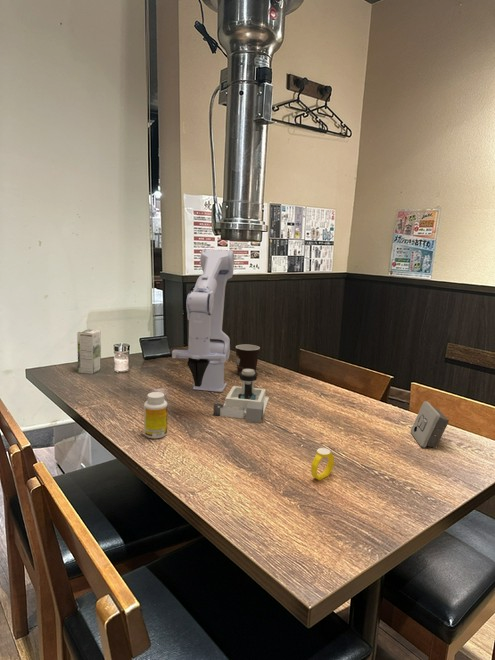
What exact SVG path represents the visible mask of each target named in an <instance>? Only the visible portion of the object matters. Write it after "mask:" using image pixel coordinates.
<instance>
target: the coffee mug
mask: <svg viewBox="0 0 495 660" xmlns="http://www.w3.org/2000/svg"><path fill="white" fill-rule="evenodd" d="M260 348H261V347H260V346H258V345H256V344H255V345H254V344H248V343H247V344H246V343H245V344H238V345H236V346H235V355H236V367H237V368H236V371H237V375H238V376H239V377H240V375H239V373H240V372H242V370H243V369H253V370H254V371H255V372H256V373H257V367H258V360H259V356H260V355H259V354H260Z"/></svg>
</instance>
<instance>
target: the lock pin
mask: <svg viewBox="0 0 495 660" xmlns="http://www.w3.org/2000/svg"><path fill="white" fill-rule="evenodd" d="M212 412H213V414H212V415H213V416H215V417H224V418H225V417H226V418H233V419H241V420H242V419H243V420H244V418H245V415H246V414H245V408H244V407H234V406H225V405H224V404H222V403H215V404H214V403H213V411H212Z"/></svg>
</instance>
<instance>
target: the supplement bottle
mask: <svg viewBox="0 0 495 660" xmlns="http://www.w3.org/2000/svg"><path fill="white" fill-rule="evenodd" d="M146 397H147V400H146V401H145V402H144V404H143V433H144V436H145V437H147V438H149V439H161V438H163V437H166V435H168V434H167V433H168V402H167V401H166V399H165V394H164V393H163V392H161V391H153V392H149V393H148V394H147V395H146Z"/></svg>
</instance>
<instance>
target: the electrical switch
mask: <svg viewBox="0 0 495 660" xmlns="http://www.w3.org/2000/svg"><path fill="white" fill-rule="evenodd" d="M449 422H450V420H449V419H448V418H447V416H445V415H444V413H443V412H442V411H440V409H439V408H437V407H434V406H433V405H432V404H431V403H430V402H429V401H426V400H425V401H423V403H422V404H421V406H420V408H419V411H418V413H417V415H416V417H415V419H414V422H413V424H412V425H411V428H410V434H411V435H412V436H413V438H414V439H415V441H416V443H418V444H419V446H420V447H421V448H423V449H425V448H426V447H431V448H433V449H437V447H438V445H439V443H440V442H441V438H442V437H443V435H444V432H445V430H446V428H447V427H448V425H449Z"/></svg>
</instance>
